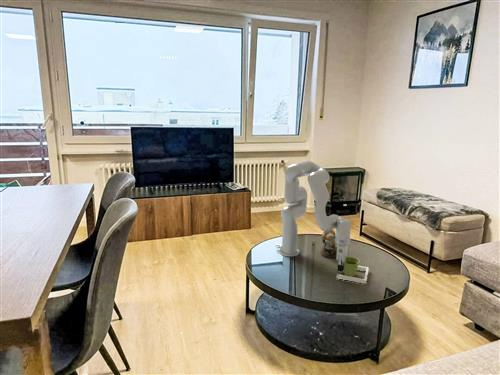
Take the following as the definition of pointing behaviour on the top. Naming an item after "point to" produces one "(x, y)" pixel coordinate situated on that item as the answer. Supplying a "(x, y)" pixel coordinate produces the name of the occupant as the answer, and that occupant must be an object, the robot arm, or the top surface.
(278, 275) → the top surface
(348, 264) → the plant pot
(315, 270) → the top surface
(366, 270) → the white u-shaped block
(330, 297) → the top surface
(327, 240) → the seated figurine
